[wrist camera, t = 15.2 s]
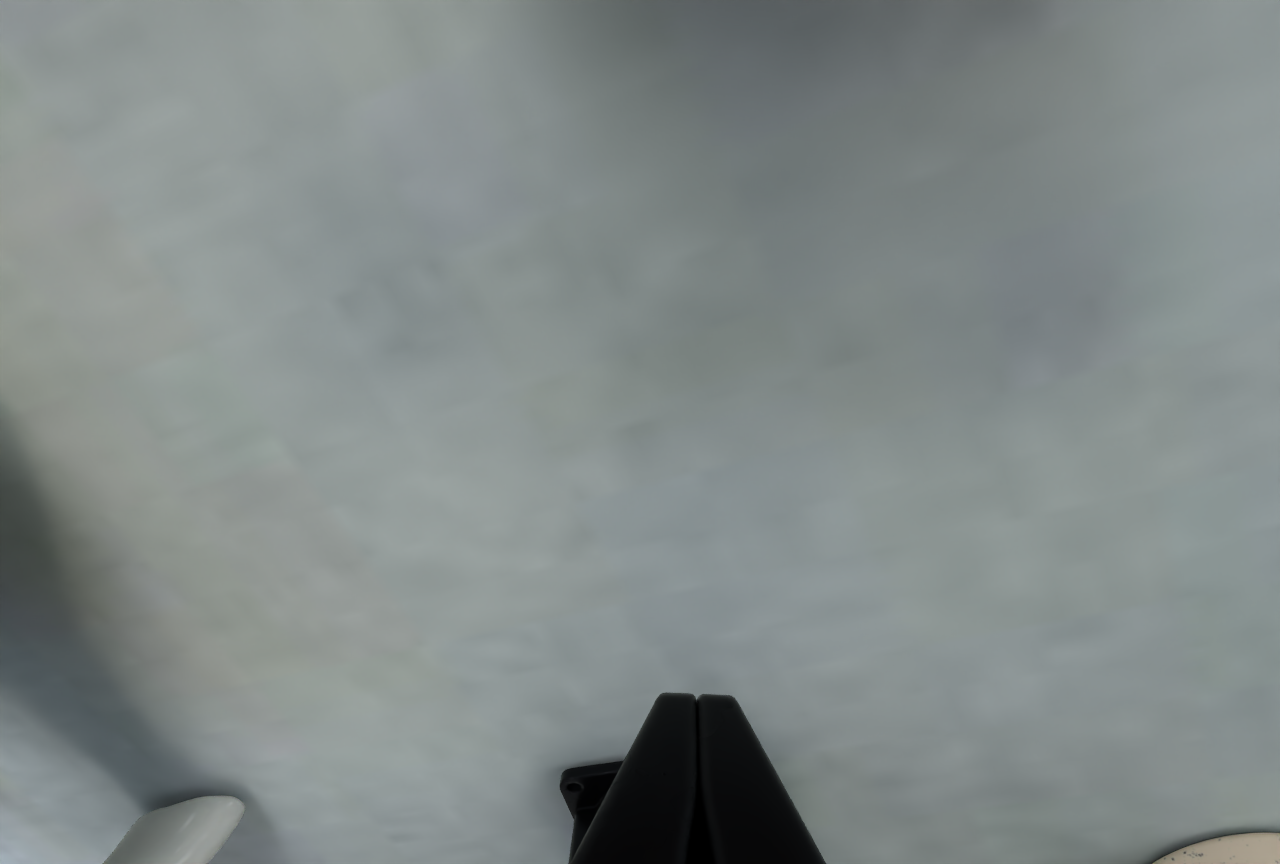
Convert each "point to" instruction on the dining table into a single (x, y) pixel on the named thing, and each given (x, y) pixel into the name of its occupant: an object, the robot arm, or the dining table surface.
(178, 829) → the spoon rest
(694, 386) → the dining table surface
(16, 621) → the dining table surface
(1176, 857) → the teacup with lid
